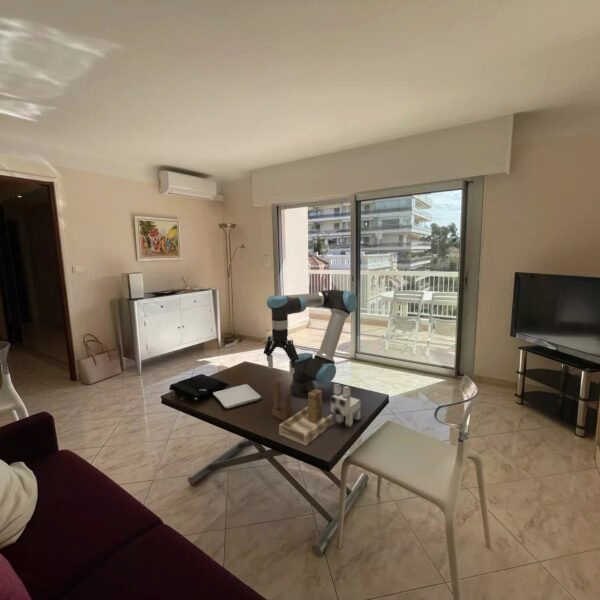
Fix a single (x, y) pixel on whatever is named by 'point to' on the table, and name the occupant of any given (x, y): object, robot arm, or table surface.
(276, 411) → the brown wooden figure
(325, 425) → the tray
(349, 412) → the toy llama
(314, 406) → the tall brown block
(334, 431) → the table surface
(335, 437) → the table surface
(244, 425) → the table surface
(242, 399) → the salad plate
